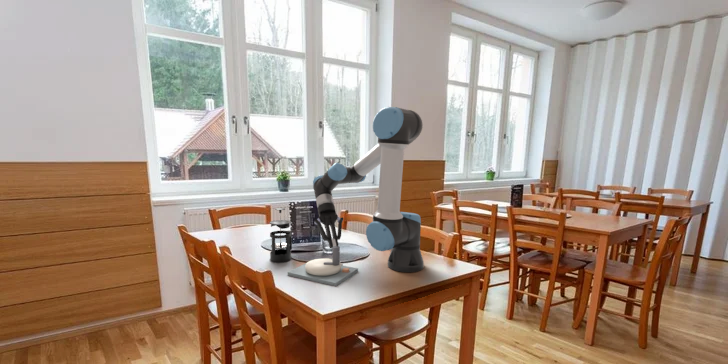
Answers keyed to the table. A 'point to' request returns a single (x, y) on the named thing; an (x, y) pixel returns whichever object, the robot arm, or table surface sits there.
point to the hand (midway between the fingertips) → (335, 254)
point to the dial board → (328, 279)
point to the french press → (282, 250)
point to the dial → (325, 264)
